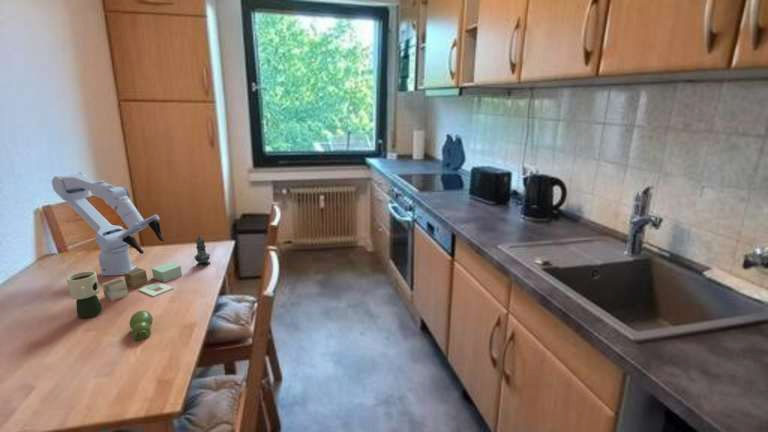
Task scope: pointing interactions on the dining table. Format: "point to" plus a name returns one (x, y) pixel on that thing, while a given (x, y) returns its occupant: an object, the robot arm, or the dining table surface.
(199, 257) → the dark green chess piece
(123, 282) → the ash block
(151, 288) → the card
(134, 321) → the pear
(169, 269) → the base block
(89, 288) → the character mug
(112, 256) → the robot arm
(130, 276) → the walnut block
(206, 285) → the dining table surface
